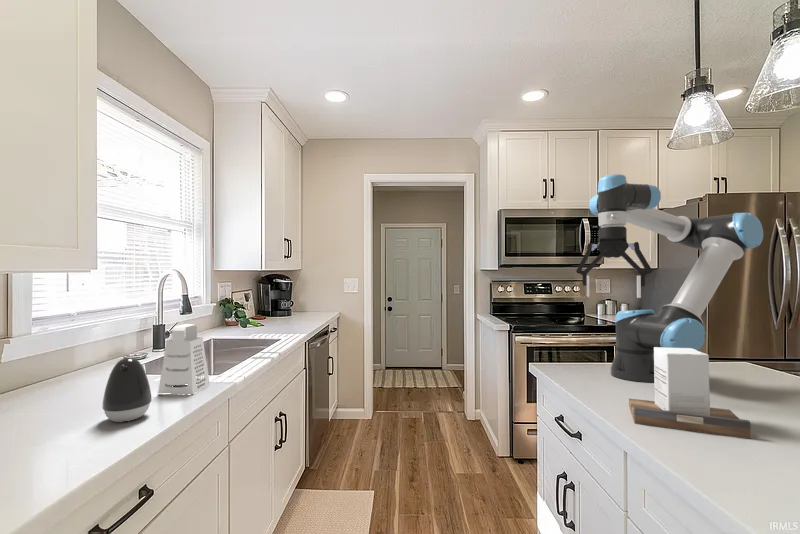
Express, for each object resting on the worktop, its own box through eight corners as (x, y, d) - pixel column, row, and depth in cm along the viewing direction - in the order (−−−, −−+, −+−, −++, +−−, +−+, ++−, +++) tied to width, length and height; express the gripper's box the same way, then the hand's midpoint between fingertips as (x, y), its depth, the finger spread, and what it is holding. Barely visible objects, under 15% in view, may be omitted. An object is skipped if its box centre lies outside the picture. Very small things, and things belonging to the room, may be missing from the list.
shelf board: (628, 405, 111) (628, 392, 111) (729, 417, 101) (729, 403, 102) (634, 423, 98) (634, 408, 98) (751, 439, 88) (750, 422, 89)
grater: (209, 385, 132) (210, 323, 132) (192, 395, 121) (192, 327, 121) (177, 385, 132) (177, 323, 132) (157, 395, 121) (158, 328, 122)
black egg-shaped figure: (96, 429, 95) (96, 364, 95) (109, 414, 105) (109, 355, 105) (146, 423, 99) (146, 360, 99) (154, 409, 108) (154, 352, 109)
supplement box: (692, 406, 104) (692, 347, 104) (711, 418, 95) (710, 354, 96) (653, 403, 106) (652, 346, 106) (667, 415, 97) (667, 352, 98)
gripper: (567, 227, 125) (567, 296, 125) (662, 223, 115) (663, 298, 115) (568, 229, 132) (568, 295, 132) (658, 226, 122) (659, 297, 121)
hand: (612, 297), depth 123 cm, fingers open, 13 cm apart
